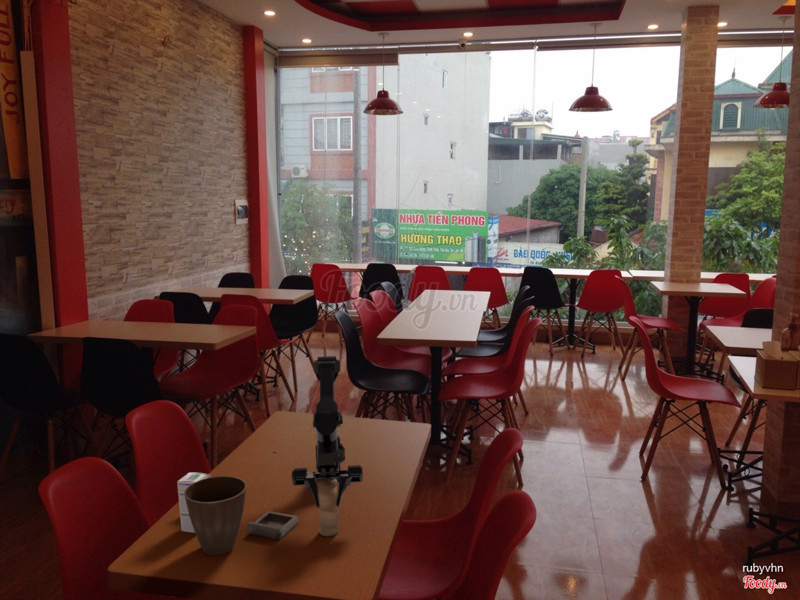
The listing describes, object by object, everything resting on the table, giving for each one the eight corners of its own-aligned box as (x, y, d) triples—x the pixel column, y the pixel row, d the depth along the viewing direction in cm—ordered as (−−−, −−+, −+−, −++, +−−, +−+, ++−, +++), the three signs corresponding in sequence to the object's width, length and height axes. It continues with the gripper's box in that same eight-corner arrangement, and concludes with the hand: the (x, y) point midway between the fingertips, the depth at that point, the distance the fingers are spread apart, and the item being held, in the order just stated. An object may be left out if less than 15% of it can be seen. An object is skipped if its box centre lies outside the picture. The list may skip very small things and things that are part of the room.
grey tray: (268, 517, 174) (268, 507, 174) (298, 523, 171) (297, 512, 171) (248, 534, 166) (248, 523, 165) (279, 540, 162) (279, 529, 162)
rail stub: (329, 524, 169) (327, 475, 167) (342, 530, 166) (341, 480, 164) (315, 532, 166) (313, 482, 164) (328, 538, 162) (326, 487, 160)
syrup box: (200, 533, 166) (197, 481, 164) (180, 531, 167) (176, 480, 165) (211, 523, 172) (208, 472, 170) (191, 521, 173) (188, 471, 171)
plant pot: (259, 536, 164) (256, 478, 162) (231, 567, 150) (228, 504, 148) (207, 530, 168) (204, 473, 166) (176, 560, 153) (171, 499, 151)
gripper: (290, 440, 165) (289, 498, 156) (361, 436, 167) (363, 494, 158) (294, 456, 174) (292, 512, 165) (361, 453, 176) (363, 508, 167)
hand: (327, 506), depth 163 cm, fingers closed on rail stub, 5 cm apart
